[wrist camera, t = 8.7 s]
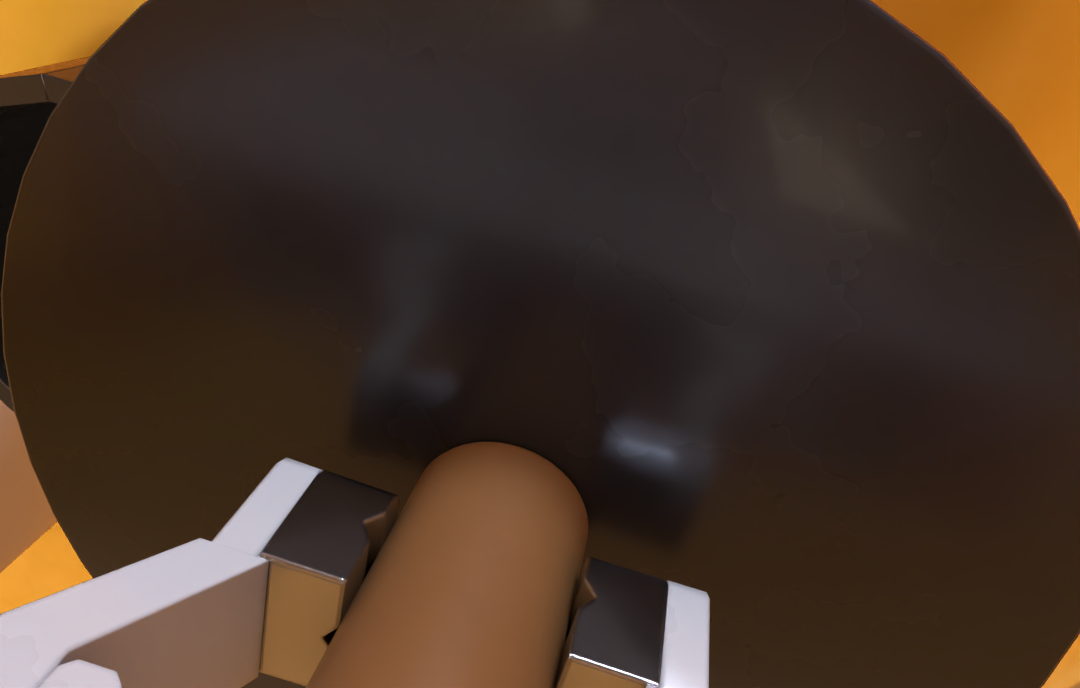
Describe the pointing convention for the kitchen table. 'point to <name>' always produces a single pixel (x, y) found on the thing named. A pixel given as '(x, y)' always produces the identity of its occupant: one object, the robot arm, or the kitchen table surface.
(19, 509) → the lumpy-topped squat cylinder
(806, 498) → the pot lid
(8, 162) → the pot
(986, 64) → the kitchen table surface
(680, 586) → the robot arm
